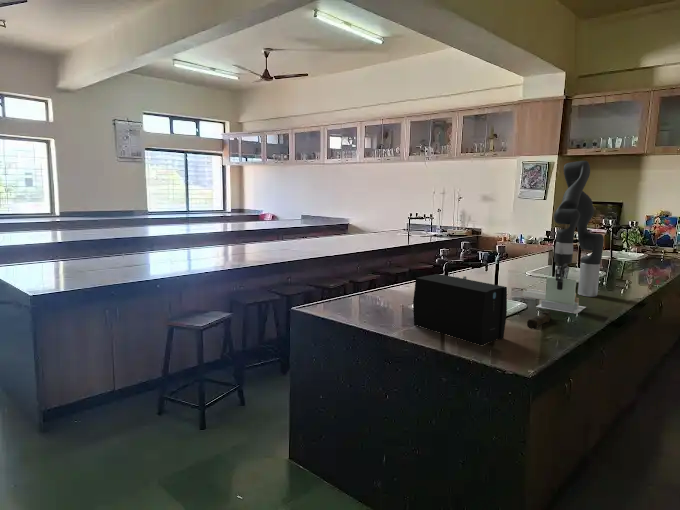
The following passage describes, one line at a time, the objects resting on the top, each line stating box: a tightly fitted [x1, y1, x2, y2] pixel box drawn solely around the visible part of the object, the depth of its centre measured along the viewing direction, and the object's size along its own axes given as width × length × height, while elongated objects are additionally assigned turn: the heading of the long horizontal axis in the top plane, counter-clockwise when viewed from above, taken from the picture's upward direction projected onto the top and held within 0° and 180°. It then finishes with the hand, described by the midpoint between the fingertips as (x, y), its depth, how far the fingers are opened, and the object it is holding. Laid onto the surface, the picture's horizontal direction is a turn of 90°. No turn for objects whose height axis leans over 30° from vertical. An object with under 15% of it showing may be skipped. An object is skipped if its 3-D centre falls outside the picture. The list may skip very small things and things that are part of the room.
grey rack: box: [535, 300, 587, 315], centre depth 221 cm, size 16×18×4 cm
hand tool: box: [526, 310, 552, 329], centre depth 196 cm, size 19×4×5 cm, turn 133°
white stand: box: [522, 288, 546, 301], centre depth 239 cm, size 7×14×4 cm, turn 49°
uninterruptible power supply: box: [412, 273, 508, 346], centre depth 184 cm, size 16×34×20 cm, turn 40°
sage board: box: [545, 275, 577, 305], centre depth 218 cm, size 3×12×14 cm, turn 50°
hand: (560, 288), depth 218 cm, fingers closed on sage board, 3 cm apart
